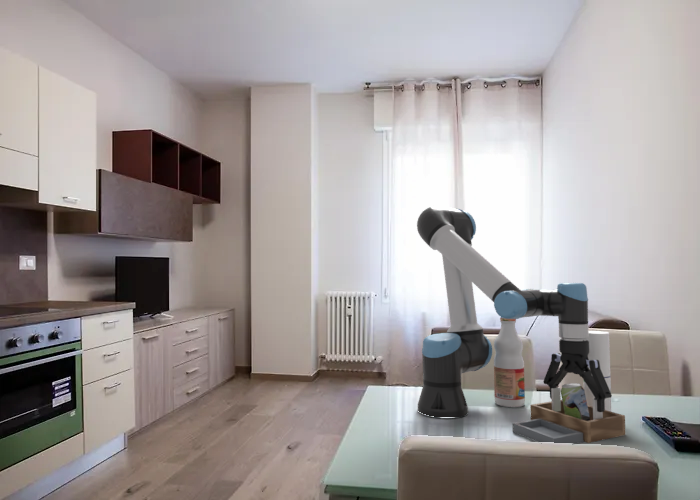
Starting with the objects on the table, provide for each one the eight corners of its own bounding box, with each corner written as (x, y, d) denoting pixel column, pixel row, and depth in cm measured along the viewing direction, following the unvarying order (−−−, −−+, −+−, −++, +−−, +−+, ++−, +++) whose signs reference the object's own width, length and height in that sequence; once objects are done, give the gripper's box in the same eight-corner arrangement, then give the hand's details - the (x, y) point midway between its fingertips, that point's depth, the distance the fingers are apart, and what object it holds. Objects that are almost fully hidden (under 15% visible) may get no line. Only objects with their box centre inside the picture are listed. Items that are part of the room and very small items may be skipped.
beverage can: (593, 432, 133) (592, 387, 133) (564, 431, 134) (563, 386, 135) (587, 425, 139) (586, 382, 139) (559, 424, 140) (558, 381, 141)
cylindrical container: (610, 423, 140) (608, 334, 142) (582, 420, 144) (580, 332, 145) (612, 417, 147) (610, 331, 148) (585, 414, 150) (583, 330, 151)
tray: (512, 431, 134) (512, 423, 134) (540, 426, 138) (540, 418, 138) (554, 448, 121) (554, 438, 122) (583, 442, 126) (583, 432, 126)
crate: (530, 422, 142) (530, 404, 142) (566, 416, 148) (565, 399, 148) (588, 443, 125) (587, 422, 125) (625, 434, 131) (624, 415, 131)
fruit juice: (492, 399, 167) (490, 315, 169) (521, 400, 166) (519, 316, 168) (497, 407, 158) (495, 318, 159) (528, 408, 157) (526, 318, 158)
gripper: (624, 343, 128) (627, 427, 127) (548, 333, 151) (550, 404, 150) (604, 345, 125) (607, 432, 124) (529, 335, 147) (531, 408, 146)
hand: (576, 417), depth 137 cm, fingers open, 13 cm apart
